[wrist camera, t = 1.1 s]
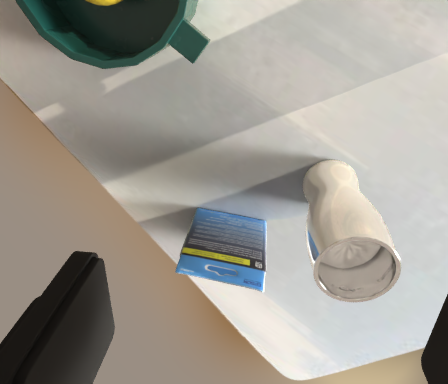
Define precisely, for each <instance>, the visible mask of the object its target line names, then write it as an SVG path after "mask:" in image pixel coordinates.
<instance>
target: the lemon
mask: <svg viewBox="0 0 448 384" xmlns="http://www.w3.org/2000/svg"><path fill="white" fill-rule="evenodd" d="M85 1H87V2H90V3H93V4H96V5H103V6H110V5H114V4H117V3H119V2H121V1H123V0H85Z"/></svg>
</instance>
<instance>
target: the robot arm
mask: <svg viewBox="0 0 448 384" xmlns="http://www.w3.org/2000/svg"><path fill="white" fill-rule="evenodd" d="M114 327H115V326H114V320H113V314H112V307H111V301H110V295H109V290H108V283H107V277H106V271H105V265H104V261H103V259H101V258H98V255H97V254H96V253H92V252H80V251H75V252H73V254H71V256H70V257H69V258H68V260H67V261H66V262H65V264H64V265H63V266H62V268H61V269H60V271H59V272H58V273H57V275H56V276H55V277H54V279H53V280H52V281H51V283H50V284H49V285H48V287H47V288H46V290H45V291H44V292H43V294H42V295H41V296H39V297H38V298H36V299H35V300H34V301H33V302H32V303H31V304H30V305H29V307H28V308H27V309H26V311H25V312H24V313H23V315H22V316H21V317H20V318H19V320H18V321H17V322H16V324H15V325H14V327H13V328H12V329H11V330H10V332H9V333H8V334H7V336H6V337H5V338H4V340H3V341H2V342H1V344H0V384H93V381H94V379H95V377H96V375H97V372H98V370H99V368H100V366H101V363H102V361H103V359H104V357H105V354H106V352H107V350H108V347H109V345H110V343H111V341H112V338H113V335H114ZM421 363H422V364H421V365H422V369H423V372H424V374H425V377H426V379H427V381H428V384H448V294H447V297H446V299H445V302H444V304H443V306H442V309H441V311H440V314H439V316H438V318H437V321H436V323H435V325H434V328H433V330H432V333H431V335H430V337H429V340H428V342H427V344H426V347H425V349H424V352H423V354H422V357H421Z"/></svg>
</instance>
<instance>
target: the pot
mask: <svg viewBox="0 0 448 384" xmlns="http://www.w3.org/2000/svg"><path fill="white" fill-rule="evenodd" d="M16 2H17V4H18V5H19V7H20V8H21V9H22V11H23V12H24V14H25V15H26V16H27V18H28V19H29V21H30V22H31V24H32V25H33V26H34V28H35V29H36V31H37V32H38V33H39V35H41V37H43V38H44V39H45V40H47V41H48V42H49V43H51V44H52V45H53V46H55V47H56V48H57V49H59V50H60V51H61V52H63V53H64V54H65V55H67V56H68V57H69V58H71V59H73V60H76V61H80V62H83V63H86V64H89V65H92V66H96V67H99V68H102V69H108V68H117V67H126V66H135V65H138V64H140V63H141V62H143V61H145V60H147V59H149V58H150V57H152V56H154V55H155V54H157V53H159V52H160V51H162V50H163V49H165V48H167V47H168V46H170V45H171V46H172V47H173V48H174V49H176V50H177V51H178V52H179V53H180V54H182V55H183V56H184V57H185V58H186V59H188V60H189V61H190V62H191V63H192V64H193V63H195V61H196V60H197V59H198V57H199V56H200V54H201V53H202V52H203V50H204V49H205V47H206V46H207V45H208V43H209V42H210V39H209V38H207V37H206V36H205V35H204V34H203V33H202V32H200V31H199V30H198V29H197V28H196V27H195V26H193V25H192V24H191V23H190V21H191V19H192V18H193V16H194V15H195V11H196V7H197V3H198V0H123V1H121V2H119V3H117V4H114V5H110V6H103V5H96V4H93V3H90V2H87V1H85V0H16Z"/></svg>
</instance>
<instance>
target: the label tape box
mask: <svg viewBox="0 0 448 384" xmlns="http://www.w3.org/2000/svg"><path fill="white" fill-rule="evenodd" d="M266 228H267V225H266V221H264V220H259V219H254V218H249V217H243V216H238V215H233V214H228V213H222V212H217V211H212V210H207V209H201V208H197V209H196V211H195V214H194V217H193V220H192V223H191V225H190V228H189V231H188V234H187V237H186V239H185V242H184V244H183V247H182V250H181V253H180V259H179V262H178V265H177V268H176V273H179V274H186V275H191V276H196V277H200V278H205V279H209V280H214V281H218V282H222V283H227V284H232V285H236V286H241V287H246V288H250V289H254V290H258V291H261V292H264V284H265V274H266Z"/></svg>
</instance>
